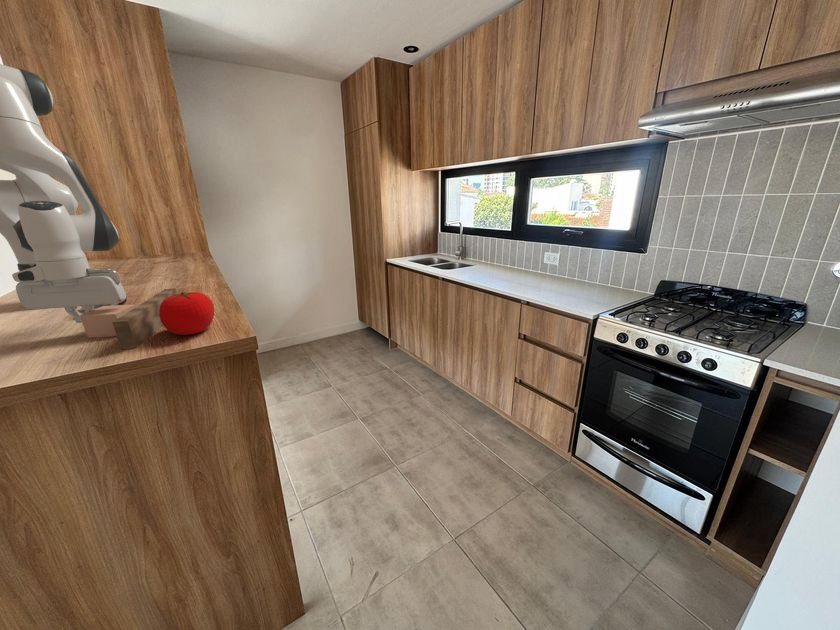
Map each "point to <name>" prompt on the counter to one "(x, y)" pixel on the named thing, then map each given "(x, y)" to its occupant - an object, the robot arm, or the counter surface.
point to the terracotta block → (103, 320)
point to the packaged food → (103, 305)
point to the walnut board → (141, 321)
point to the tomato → (186, 313)
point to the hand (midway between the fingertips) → (84, 321)
